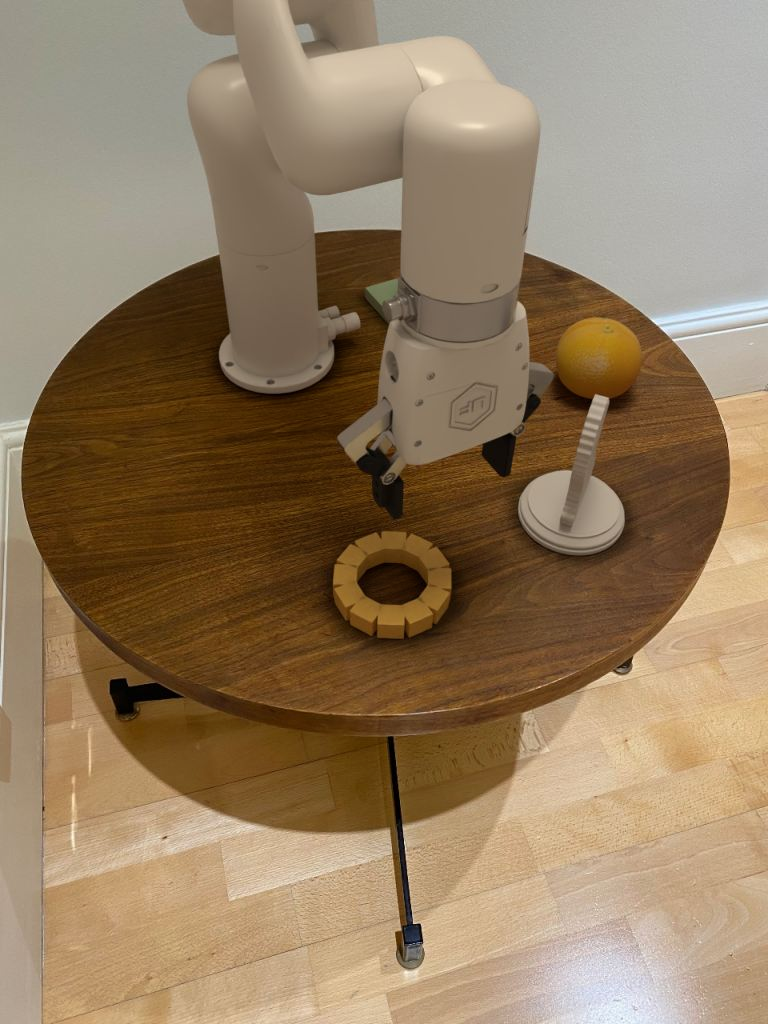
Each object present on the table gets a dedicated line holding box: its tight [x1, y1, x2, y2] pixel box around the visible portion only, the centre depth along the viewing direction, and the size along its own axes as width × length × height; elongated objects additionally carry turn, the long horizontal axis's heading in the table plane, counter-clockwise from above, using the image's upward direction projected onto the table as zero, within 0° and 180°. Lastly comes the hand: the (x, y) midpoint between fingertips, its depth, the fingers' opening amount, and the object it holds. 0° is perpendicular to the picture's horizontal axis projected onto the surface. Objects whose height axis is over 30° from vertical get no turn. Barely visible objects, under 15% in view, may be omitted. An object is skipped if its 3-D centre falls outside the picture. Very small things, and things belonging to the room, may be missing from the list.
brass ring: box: [332, 530, 453, 640], centre depth 75 cm, size 10×10×2 cm
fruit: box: [555, 316, 643, 400], centre depth 91 cm, size 9×8×8 cm
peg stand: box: [364, 277, 398, 325], centre depth 99 cm, size 8×8×12 cm
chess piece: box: [517, 394, 626, 556], centre depth 76 cm, size 10×10×15 cm
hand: (443, 486), depth 68 cm, fingers open, 9 cm apart
